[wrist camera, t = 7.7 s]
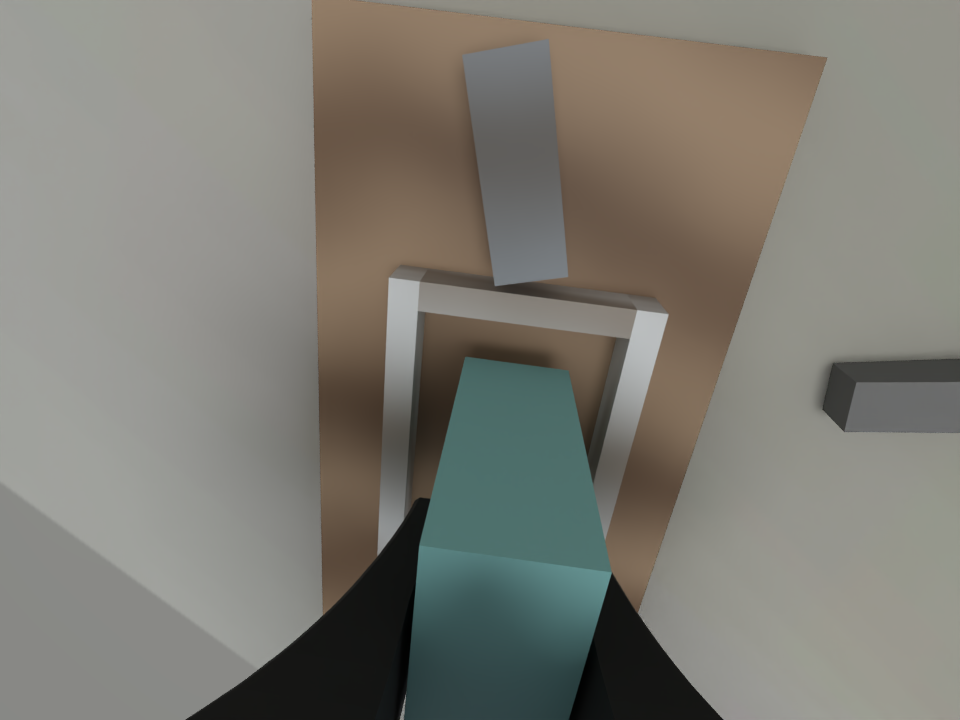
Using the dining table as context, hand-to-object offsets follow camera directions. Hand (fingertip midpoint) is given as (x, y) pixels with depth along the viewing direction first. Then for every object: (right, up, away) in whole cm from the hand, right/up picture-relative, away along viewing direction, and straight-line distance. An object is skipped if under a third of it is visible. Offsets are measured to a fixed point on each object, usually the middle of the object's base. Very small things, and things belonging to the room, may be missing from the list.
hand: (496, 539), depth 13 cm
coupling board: (0, +2, +5) cm, 5 cm away
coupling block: (0, +2, +2) cm, 3 cm away
